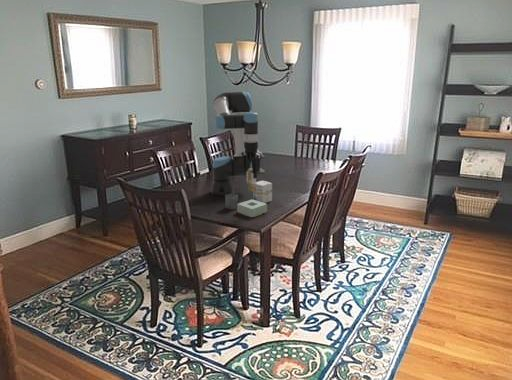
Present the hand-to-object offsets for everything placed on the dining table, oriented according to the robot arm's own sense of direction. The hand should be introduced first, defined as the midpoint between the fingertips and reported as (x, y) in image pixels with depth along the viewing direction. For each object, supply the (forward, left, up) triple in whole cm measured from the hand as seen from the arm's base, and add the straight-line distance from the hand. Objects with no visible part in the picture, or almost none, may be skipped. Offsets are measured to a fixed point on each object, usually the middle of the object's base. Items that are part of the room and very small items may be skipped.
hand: (251, 183), depth 227 cm
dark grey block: (-13, -3, -17) cm, 22 cm away
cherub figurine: (-67, +68, -17) cm, 97 cm away
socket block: (+1, 0, -17) cm, 17 cm away
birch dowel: (0, 0, -4) cm, 4 cm away
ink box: (-9, +19, -17) cm, 27 cm away
